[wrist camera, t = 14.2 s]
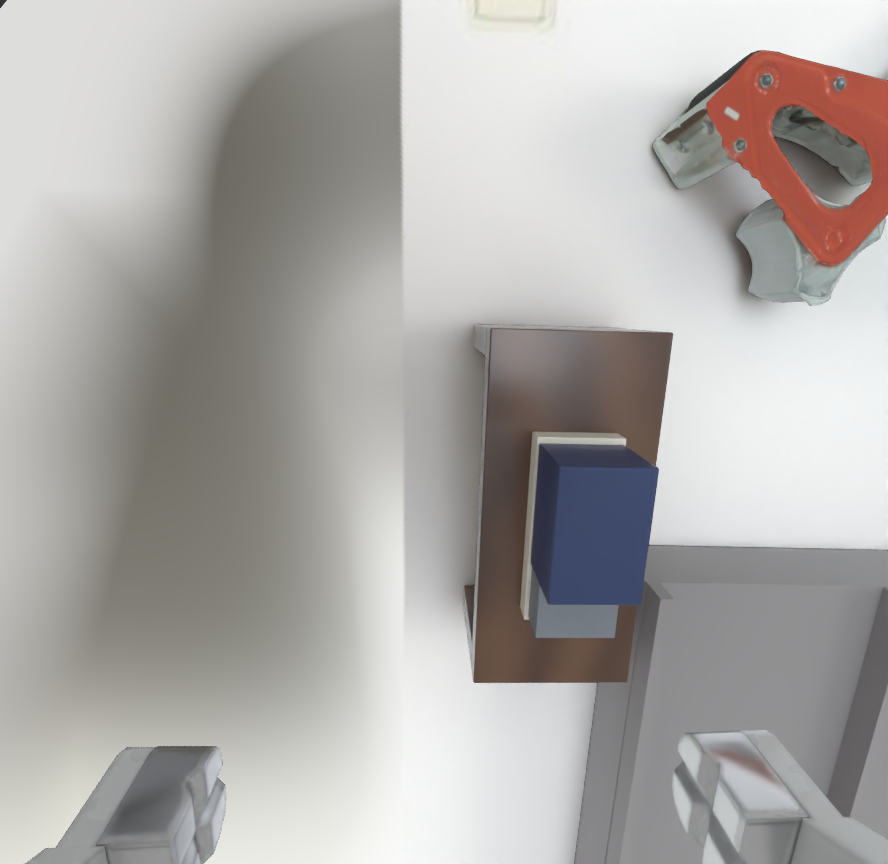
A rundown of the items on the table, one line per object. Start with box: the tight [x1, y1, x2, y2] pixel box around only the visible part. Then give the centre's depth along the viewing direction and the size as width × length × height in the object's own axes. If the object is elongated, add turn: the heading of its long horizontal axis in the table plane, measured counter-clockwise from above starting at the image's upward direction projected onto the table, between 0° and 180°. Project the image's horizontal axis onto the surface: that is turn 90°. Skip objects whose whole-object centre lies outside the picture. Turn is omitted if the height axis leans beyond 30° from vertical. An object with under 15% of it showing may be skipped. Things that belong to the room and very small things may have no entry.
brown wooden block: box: [463, 324, 673, 683], centre depth 30 cm, size 9×20×8 cm, turn 178°
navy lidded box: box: [520, 432, 659, 638], centre depth 24 cm, size 10×4×5 cm, turn 178°
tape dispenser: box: [653, 50, 888, 306], centre depth 28 cm, size 18×5×20 cm
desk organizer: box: [574, 545, 888, 864], centre depth 38 cm, size 32×40×7 cm
